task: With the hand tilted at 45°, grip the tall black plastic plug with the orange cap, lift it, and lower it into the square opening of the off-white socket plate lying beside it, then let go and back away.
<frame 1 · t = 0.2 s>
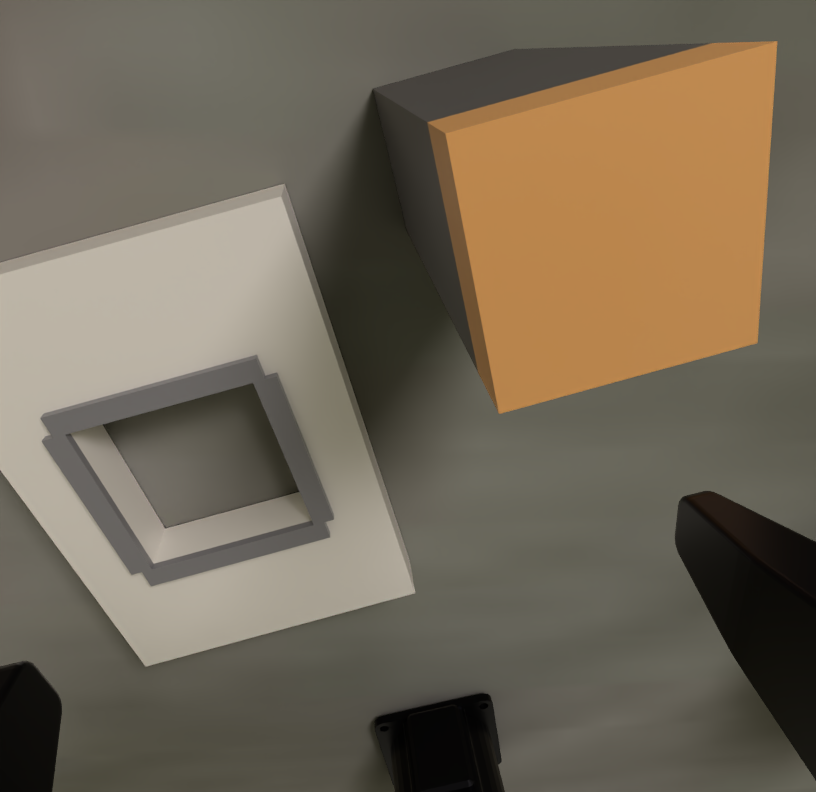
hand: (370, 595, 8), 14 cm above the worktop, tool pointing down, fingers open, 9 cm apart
plug: (457, 145, 19), on the worktop
socket plate: (208, 447, 23), on the worktop
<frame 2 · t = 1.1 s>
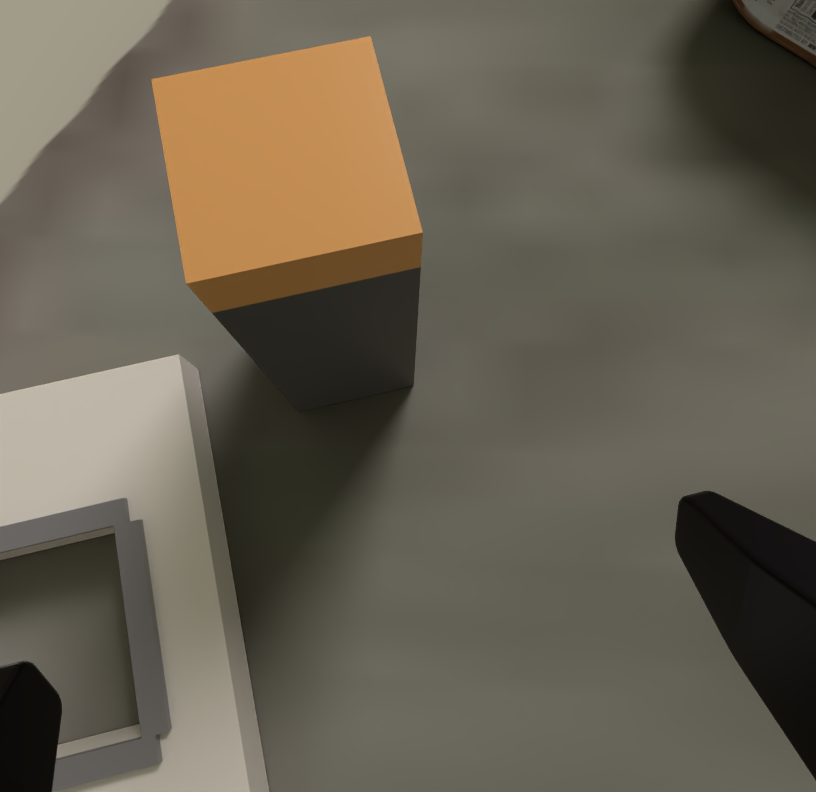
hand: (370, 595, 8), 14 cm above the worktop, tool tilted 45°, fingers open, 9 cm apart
plug: (344, 344, 23), on the worktop
socket plate: (64, 640, 21), on the worktop
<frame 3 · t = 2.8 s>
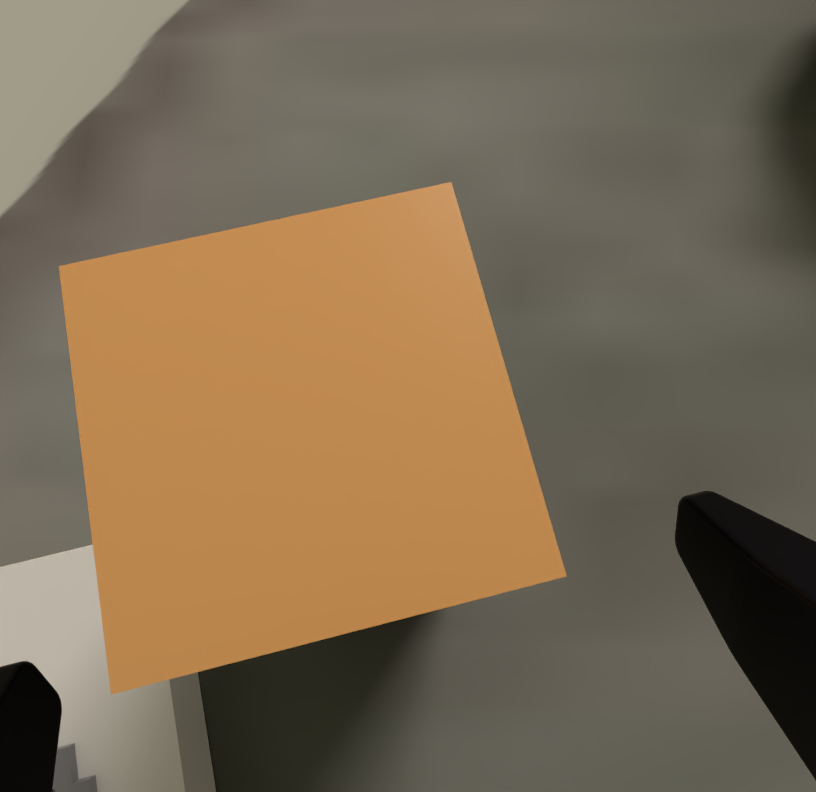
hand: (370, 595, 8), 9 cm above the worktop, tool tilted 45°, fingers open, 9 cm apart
plug: (366, 495, 18), on the worktop
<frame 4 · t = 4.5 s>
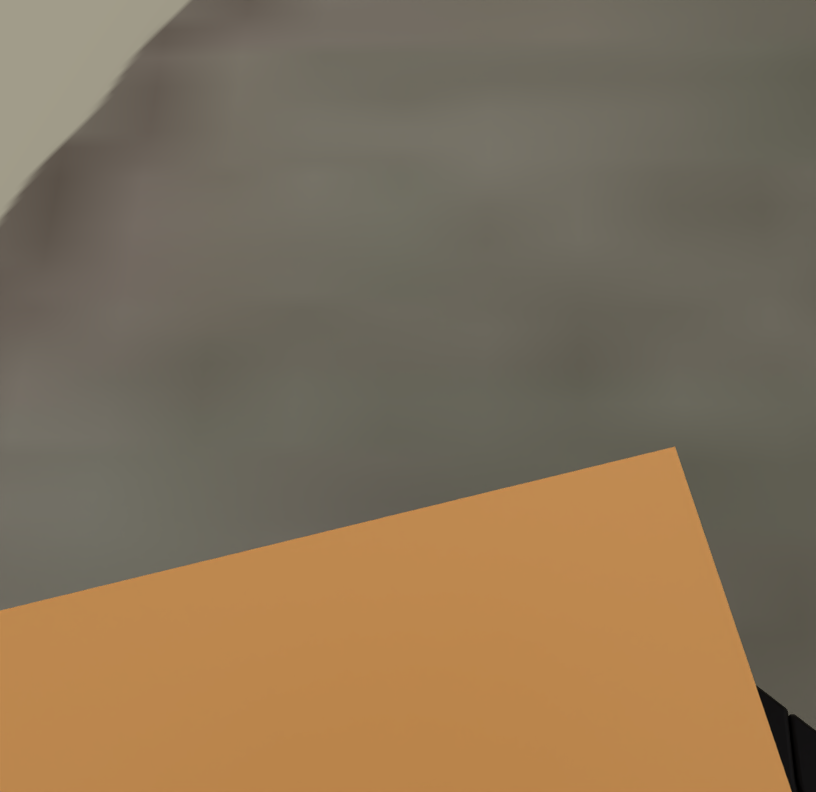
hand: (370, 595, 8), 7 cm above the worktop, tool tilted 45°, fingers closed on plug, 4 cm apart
plug: (398, 628, 14), on the worktop, touching gripper
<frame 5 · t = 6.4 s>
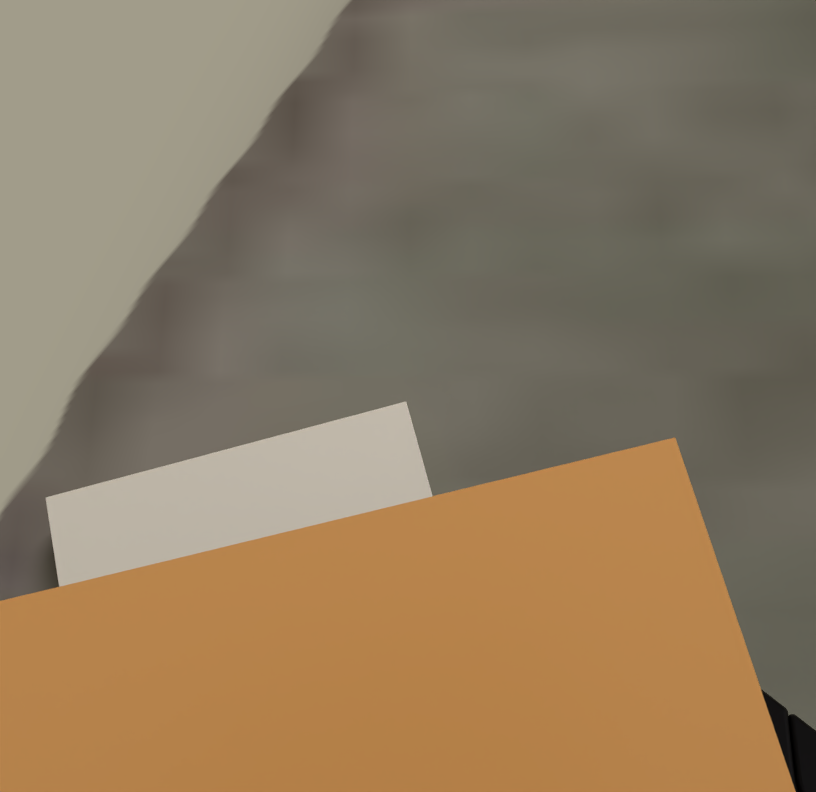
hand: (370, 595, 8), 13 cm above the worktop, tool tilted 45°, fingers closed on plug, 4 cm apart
plug: (399, 626, 14), point 7 cm above the worktop, touching gripper
socket plate: (298, 701, 20), on the worktop
when the fingers open (8 cm above the worktop, at t = 8.4 s): plug drops 1 cm, resting in socket plate.
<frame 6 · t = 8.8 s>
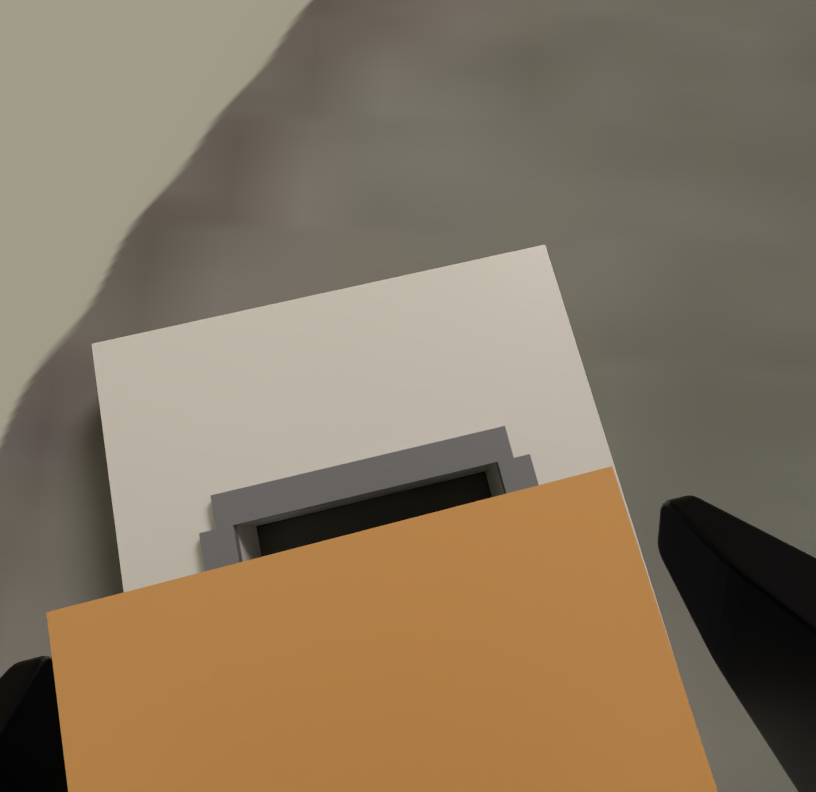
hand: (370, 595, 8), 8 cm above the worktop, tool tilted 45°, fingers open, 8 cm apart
plug: (400, 615, 16), resting in socket plate
socket plate: (398, 618, 16), on the worktop
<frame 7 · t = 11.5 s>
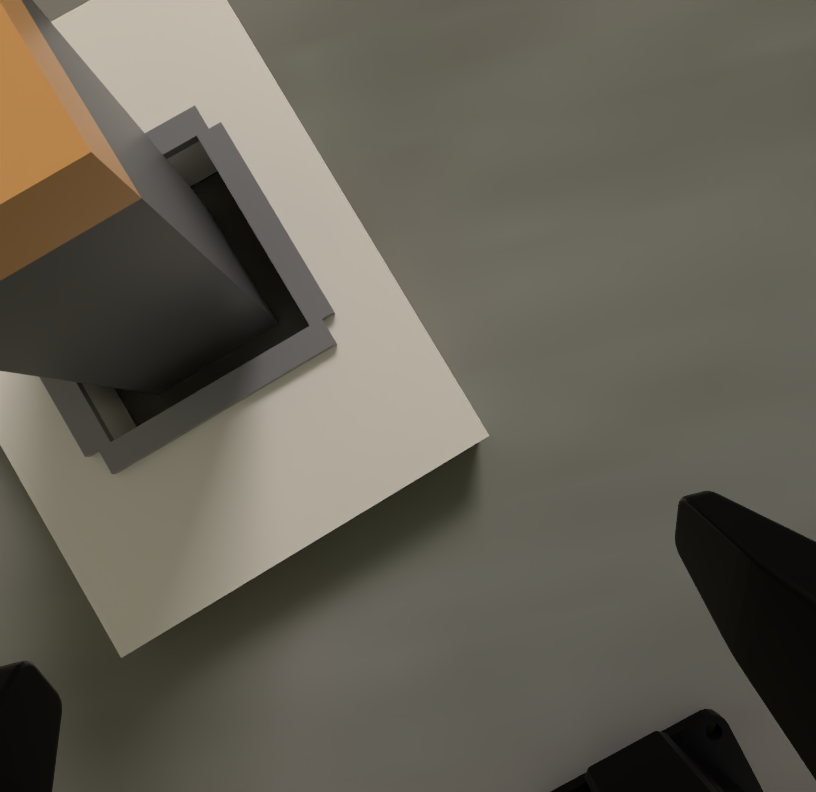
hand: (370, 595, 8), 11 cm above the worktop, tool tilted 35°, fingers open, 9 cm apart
plug: (183, 300, 19), resting in socket plate
socket plate: (182, 303, 19), on the worktop
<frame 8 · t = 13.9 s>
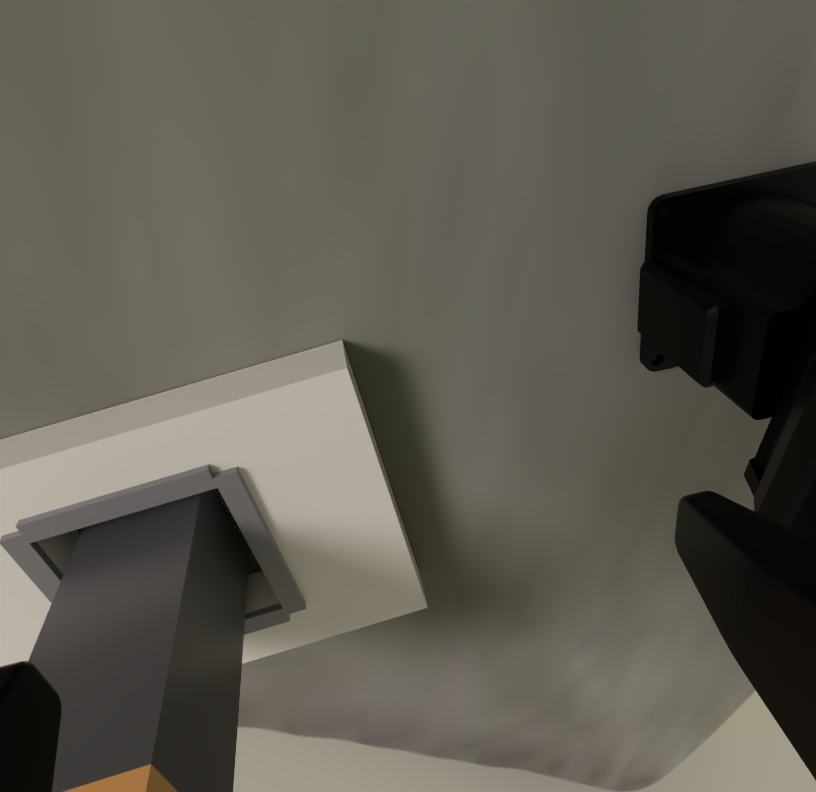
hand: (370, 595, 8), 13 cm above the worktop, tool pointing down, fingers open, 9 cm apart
plug: (173, 532, 24), resting in socket plate
socket plate: (176, 533, 24), on the worktop
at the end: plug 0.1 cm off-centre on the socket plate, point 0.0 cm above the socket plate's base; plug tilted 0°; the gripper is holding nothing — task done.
